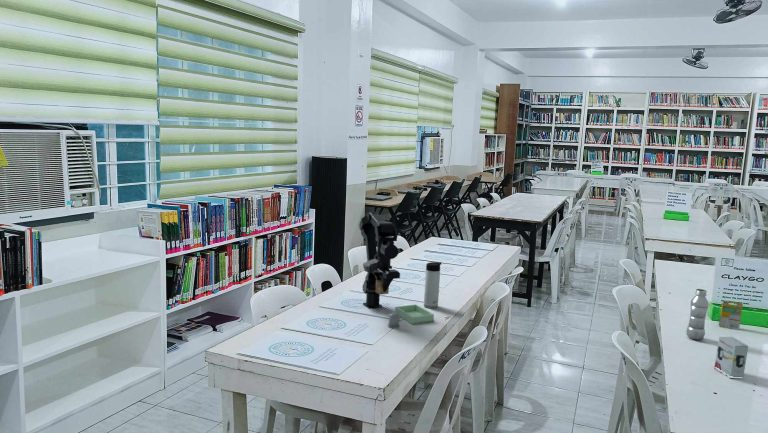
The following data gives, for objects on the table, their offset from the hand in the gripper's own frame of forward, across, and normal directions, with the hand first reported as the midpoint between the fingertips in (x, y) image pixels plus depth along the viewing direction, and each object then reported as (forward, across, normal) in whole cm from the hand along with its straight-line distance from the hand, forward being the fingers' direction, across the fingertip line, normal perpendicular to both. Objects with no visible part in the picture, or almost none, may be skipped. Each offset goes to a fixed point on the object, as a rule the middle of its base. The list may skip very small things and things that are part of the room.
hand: (382, 290), depth 237 cm
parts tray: (+11, +6, +12) cm, 18 cm away
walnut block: (+1, 0, 0) cm, 1 cm away
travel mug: (+11, -4, +27) cm, 29 cm away
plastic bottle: (+11, +67, +106) cm, 126 cm away
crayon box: (+11, +63, +134) cm, 149 cm away
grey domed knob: (+11, +13, -1) cm, 17 cm away
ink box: (+11, +93, +86) cm, 127 cm away
